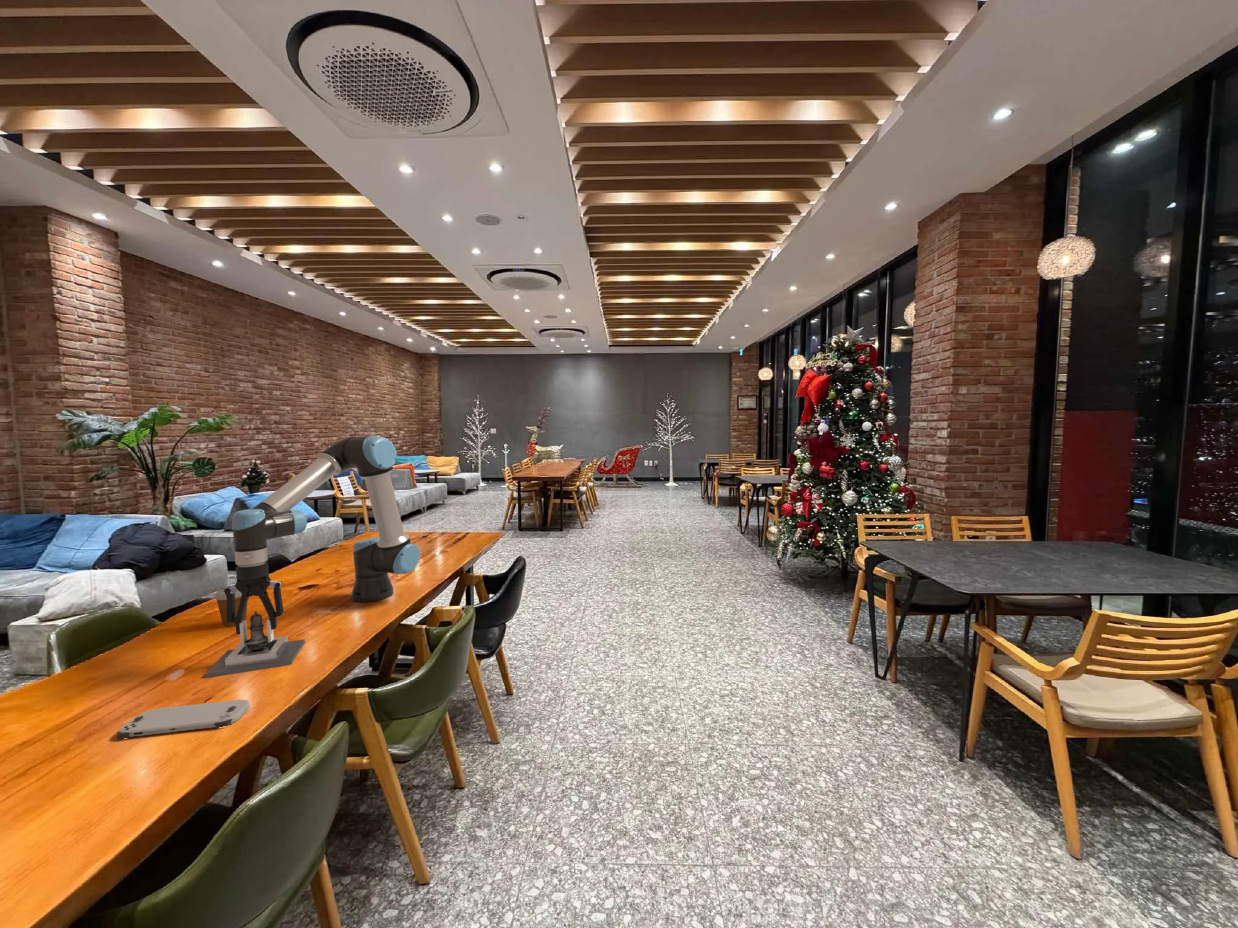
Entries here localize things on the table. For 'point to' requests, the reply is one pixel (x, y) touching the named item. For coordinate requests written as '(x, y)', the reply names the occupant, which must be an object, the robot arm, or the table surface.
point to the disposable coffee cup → (222, 606)
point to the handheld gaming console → (184, 718)
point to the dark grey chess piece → (257, 635)
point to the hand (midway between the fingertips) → (257, 641)
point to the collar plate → (279, 662)
